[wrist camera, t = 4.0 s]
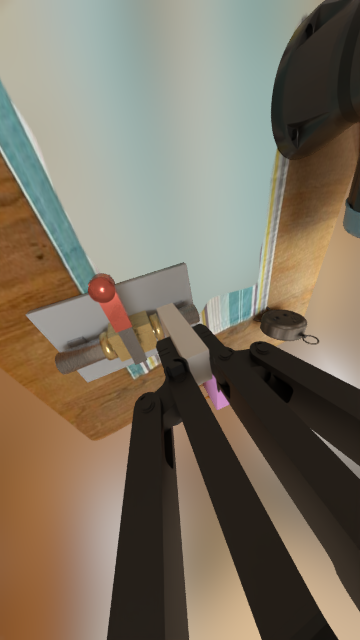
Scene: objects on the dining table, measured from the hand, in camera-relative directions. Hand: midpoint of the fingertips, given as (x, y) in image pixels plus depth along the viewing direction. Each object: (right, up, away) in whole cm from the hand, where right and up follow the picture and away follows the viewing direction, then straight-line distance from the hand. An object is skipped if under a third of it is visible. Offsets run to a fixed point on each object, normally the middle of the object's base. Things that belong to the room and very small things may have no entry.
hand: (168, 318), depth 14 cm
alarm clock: (+28, +2, +36) cm, 46 cm away
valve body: (-9, -2, +21) cm, 23 cm away
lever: (-9, 0, +13) cm, 15 cm away
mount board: (-10, -1, +22) cm, 24 cm away
